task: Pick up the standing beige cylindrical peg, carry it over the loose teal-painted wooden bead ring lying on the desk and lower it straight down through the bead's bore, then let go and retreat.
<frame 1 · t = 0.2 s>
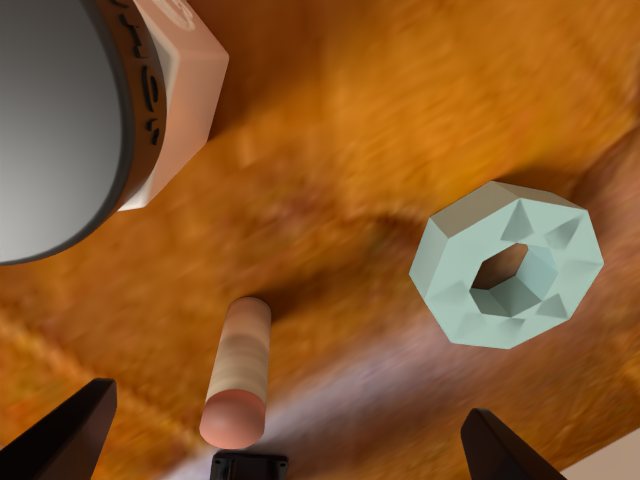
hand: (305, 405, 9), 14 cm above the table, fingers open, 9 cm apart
beige cylindrical peg: (249, 314, 25), on the table
jar: (140, 69, 18), on the table
bead: (488, 257, 24), on the table
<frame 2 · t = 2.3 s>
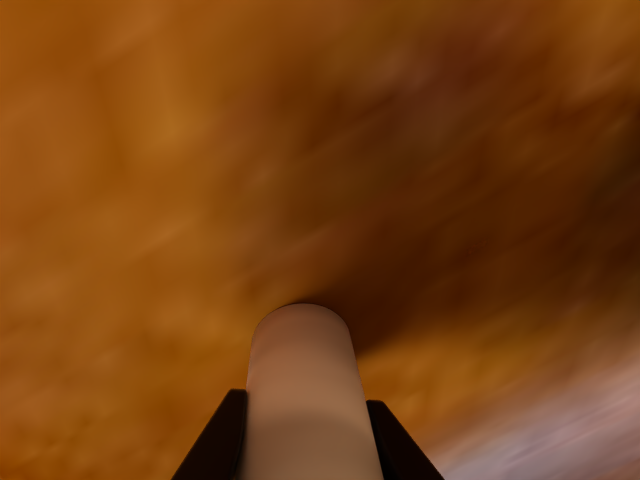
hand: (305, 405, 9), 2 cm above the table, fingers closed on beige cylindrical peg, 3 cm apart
beige cylindrical peg: (301, 343, 11), on the table, touching gripper
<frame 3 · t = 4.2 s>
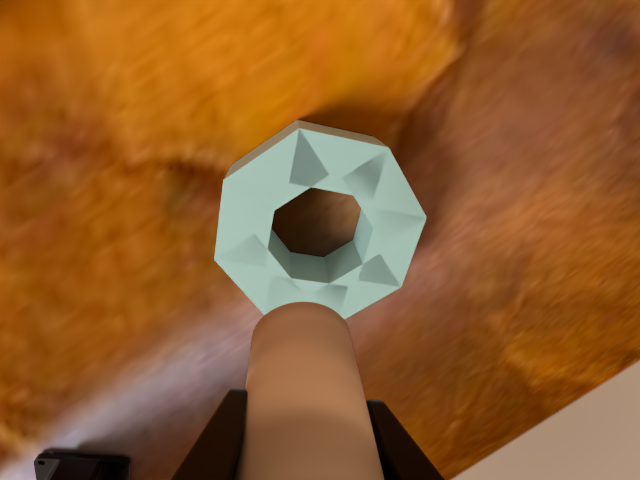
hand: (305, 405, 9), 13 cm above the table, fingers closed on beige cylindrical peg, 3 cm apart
beige cylindrical peg: (301, 342, 11), point 11 cm above the table, touching gripper
bead: (315, 216, 21), on the table
when the fingers open (4 cm above the table, at t = 6.5 s): beige cylindrical peg drops 2 cm, resting in bead.
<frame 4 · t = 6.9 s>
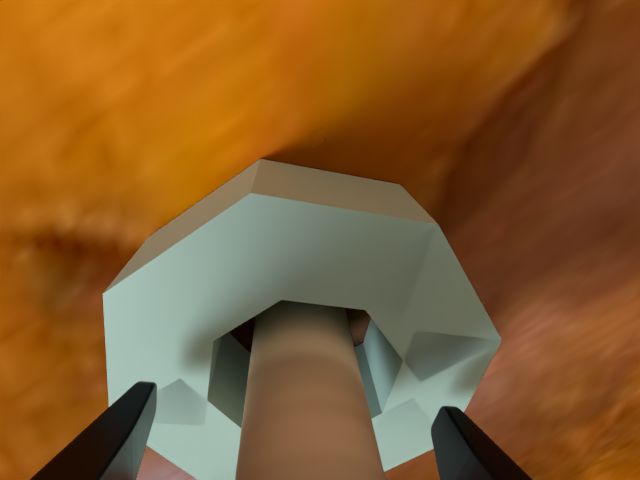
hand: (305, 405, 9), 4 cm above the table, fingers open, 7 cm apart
beige cylindrical peg: (300, 310, 12), resting in bead
bead: (301, 312, 12), on the table
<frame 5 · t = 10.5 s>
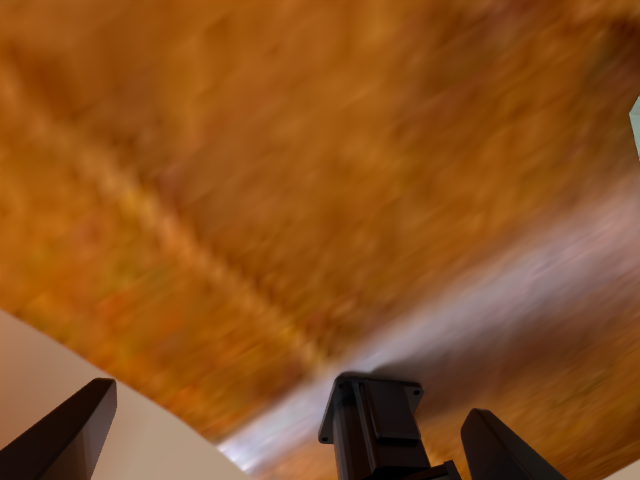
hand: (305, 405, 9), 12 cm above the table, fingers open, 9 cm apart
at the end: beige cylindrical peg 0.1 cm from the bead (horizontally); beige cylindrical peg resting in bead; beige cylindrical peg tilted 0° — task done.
